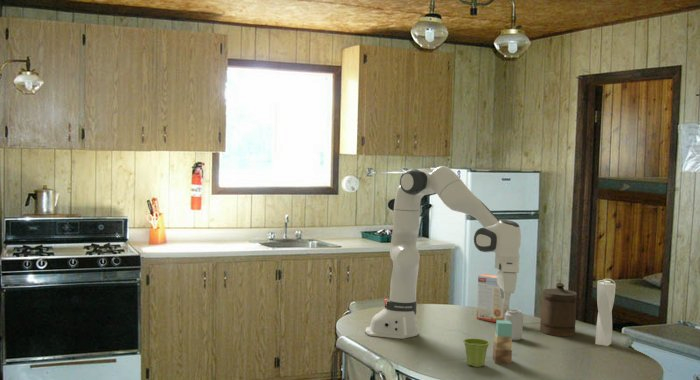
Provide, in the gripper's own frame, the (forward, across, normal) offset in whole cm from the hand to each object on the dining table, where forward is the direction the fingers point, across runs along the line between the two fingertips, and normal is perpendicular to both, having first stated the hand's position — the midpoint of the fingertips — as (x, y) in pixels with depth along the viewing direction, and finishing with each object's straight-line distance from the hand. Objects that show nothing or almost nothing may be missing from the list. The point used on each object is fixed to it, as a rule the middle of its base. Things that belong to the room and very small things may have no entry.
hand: (504, 300), depth 274 cm
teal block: (+13, 0, +1) cm, 13 cm away
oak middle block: (+18, 0, +1) cm, 18 cm away
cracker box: (+23, -67, +6) cm, 71 cm away
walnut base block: (+23, 0, +1) cm, 23 cm away
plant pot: (+23, +6, -10) cm, 26 cm away
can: (+23, -35, +10) cm, 43 cm away
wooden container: (+22, -50, +32) cm, 64 cm away
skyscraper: (+22, -34, +48) cm, 62 cm away
